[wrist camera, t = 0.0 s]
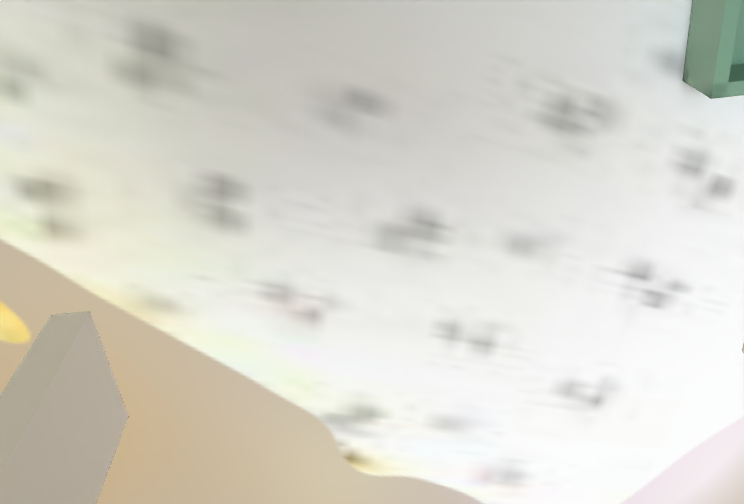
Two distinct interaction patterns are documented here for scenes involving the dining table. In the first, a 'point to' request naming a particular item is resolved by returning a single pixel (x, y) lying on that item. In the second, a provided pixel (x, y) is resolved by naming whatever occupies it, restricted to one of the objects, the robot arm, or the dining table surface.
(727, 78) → the tray
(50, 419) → the robot arm
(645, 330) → the dining table surface
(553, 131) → the dining table surface
